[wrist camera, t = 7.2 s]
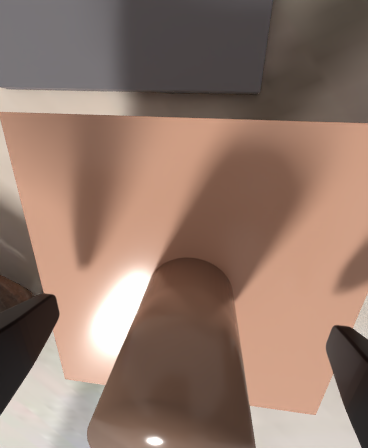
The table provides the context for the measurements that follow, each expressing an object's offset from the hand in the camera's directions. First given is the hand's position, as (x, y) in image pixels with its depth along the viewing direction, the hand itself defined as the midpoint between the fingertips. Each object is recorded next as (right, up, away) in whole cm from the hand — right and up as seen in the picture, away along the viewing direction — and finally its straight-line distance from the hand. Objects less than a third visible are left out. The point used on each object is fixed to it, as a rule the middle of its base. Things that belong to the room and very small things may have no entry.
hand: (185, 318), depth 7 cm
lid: (0, +1, +2) cm, 2 cm away
